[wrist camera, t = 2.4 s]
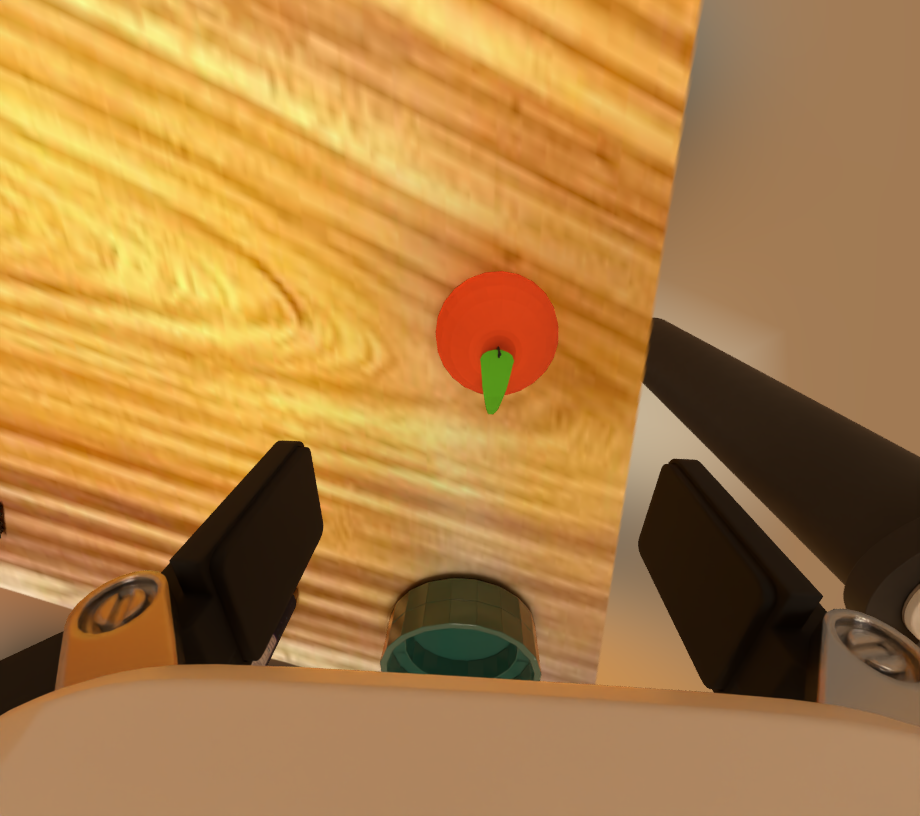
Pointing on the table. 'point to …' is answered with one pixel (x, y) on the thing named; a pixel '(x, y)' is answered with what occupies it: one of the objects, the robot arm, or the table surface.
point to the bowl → (462, 632)
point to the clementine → (497, 334)
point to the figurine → (1, 525)
